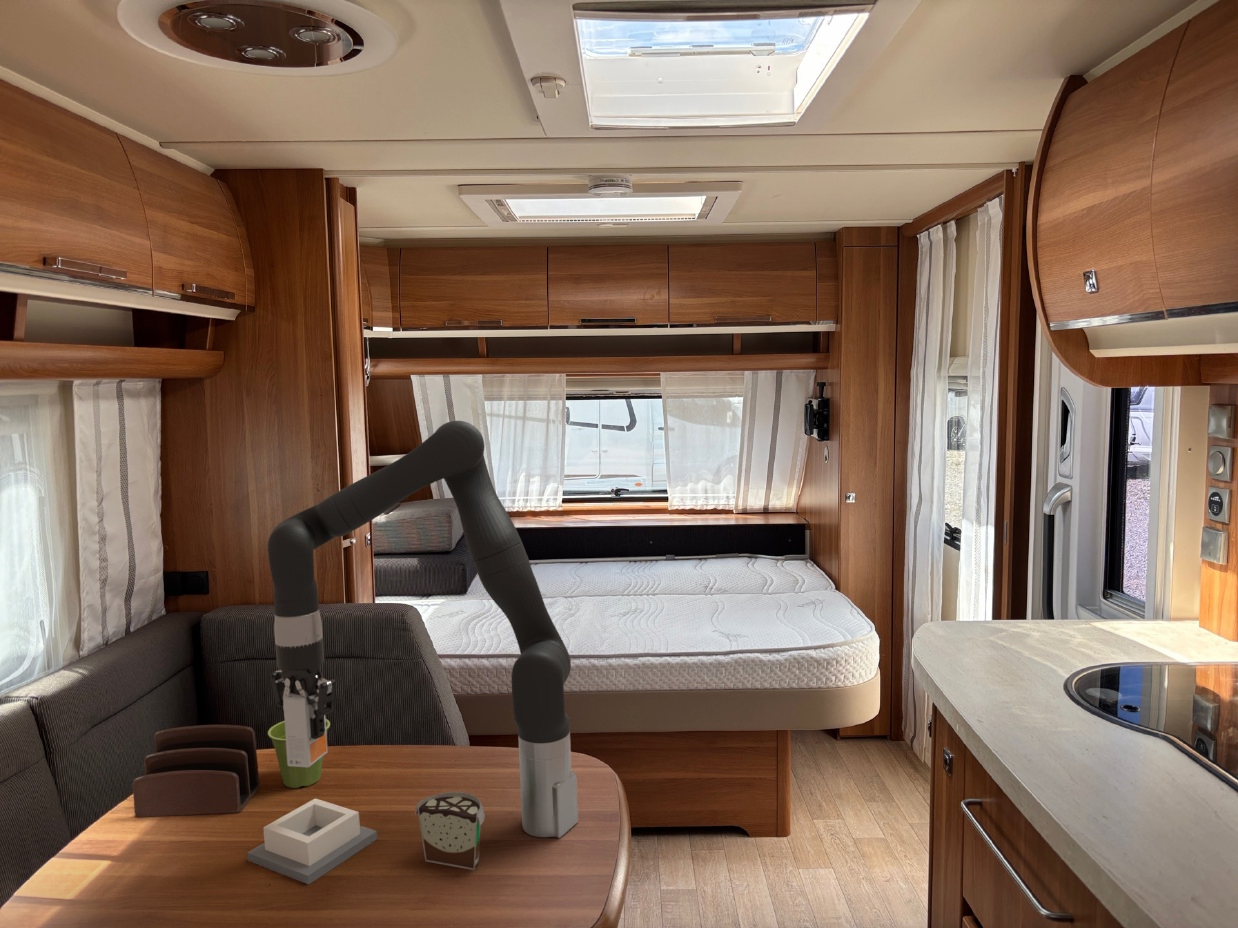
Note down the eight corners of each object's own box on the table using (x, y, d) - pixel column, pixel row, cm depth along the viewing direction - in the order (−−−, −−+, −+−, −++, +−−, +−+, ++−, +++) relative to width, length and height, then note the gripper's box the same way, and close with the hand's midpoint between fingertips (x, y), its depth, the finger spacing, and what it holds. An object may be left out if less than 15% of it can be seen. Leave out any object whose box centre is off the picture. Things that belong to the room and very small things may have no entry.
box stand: (377, 838, 148) (375, 809, 148) (308, 884, 135) (306, 852, 135) (318, 819, 156) (316, 790, 155) (247, 860, 143) (245, 829, 142)
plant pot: (321, 793, 166) (317, 738, 164) (261, 795, 166) (257, 740, 165) (341, 766, 177) (338, 714, 176) (286, 767, 178) (282, 716, 176)
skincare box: (309, 768, 141) (304, 699, 139) (286, 766, 142) (281, 698, 140) (329, 752, 147) (324, 686, 145) (307, 750, 147) (302, 685, 146)
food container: (500, 851, 143) (497, 795, 142) (482, 871, 138) (479, 813, 137) (437, 840, 147) (433, 785, 146) (417, 859, 142) (414, 803, 141)
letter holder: (161, 793, 168) (155, 725, 167) (261, 788, 169) (255, 721, 168) (134, 818, 158) (127, 747, 157) (240, 813, 159) (234, 742, 158)
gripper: (346, 636, 142) (353, 733, 143) (288, 626, 149) (295, 718, 150) (310, 649, 135) (317, 750, 137) (252, 638, 142) (259, 735, 144)
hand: (306, 733), depth 144 cm, fingers closed on skincare box, 5 cm apart
